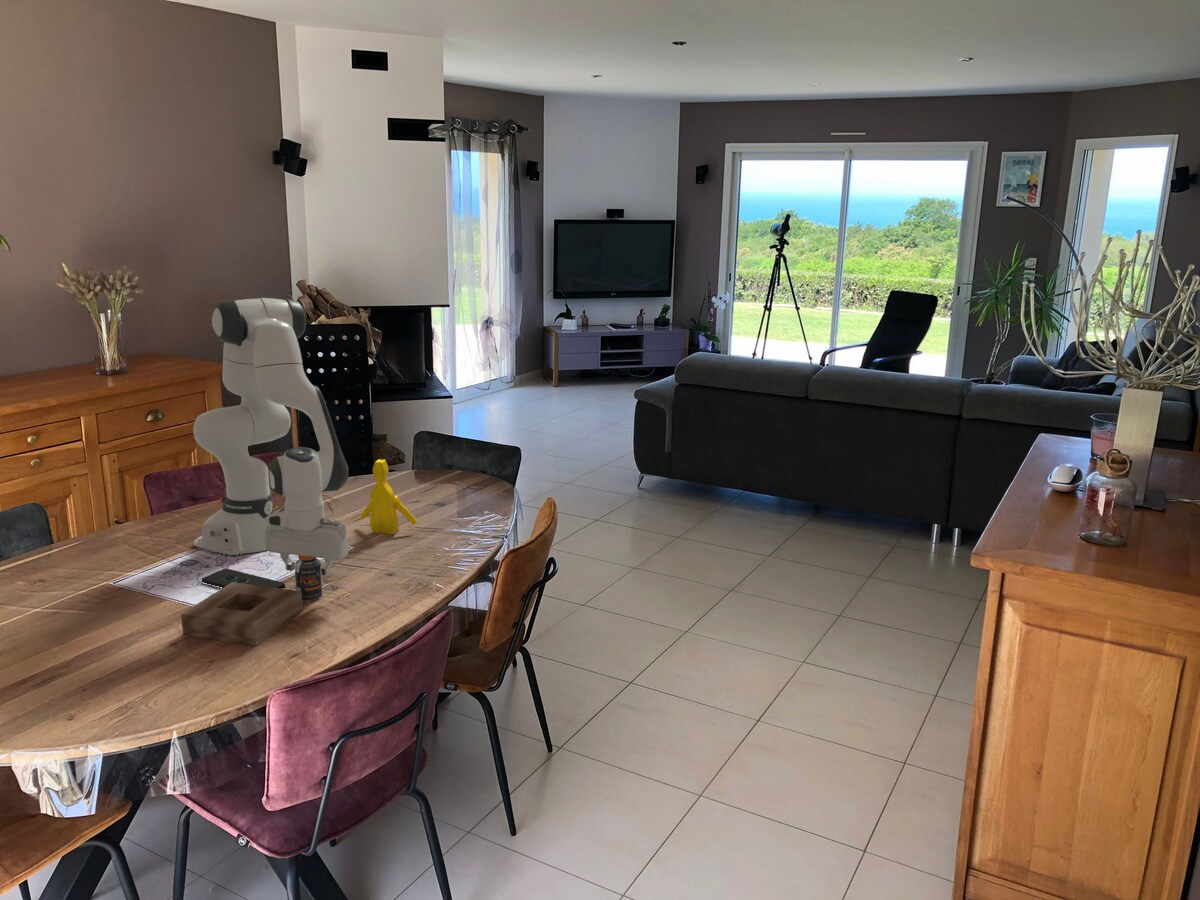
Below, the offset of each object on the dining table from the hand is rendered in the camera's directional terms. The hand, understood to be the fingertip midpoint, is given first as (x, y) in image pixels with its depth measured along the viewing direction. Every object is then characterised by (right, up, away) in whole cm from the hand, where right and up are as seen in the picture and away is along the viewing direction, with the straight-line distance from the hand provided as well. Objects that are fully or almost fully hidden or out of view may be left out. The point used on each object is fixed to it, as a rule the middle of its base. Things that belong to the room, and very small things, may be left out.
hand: (308, 572), depth 219 cm
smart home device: (-18, -5, +7) cm, 20 cm away
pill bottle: (0, -6, +2) cm, 6 cm away
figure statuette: (+8, +5, +46) cm, 47 cm away
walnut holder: (-10, -10, -13) cm, 19 cm away
